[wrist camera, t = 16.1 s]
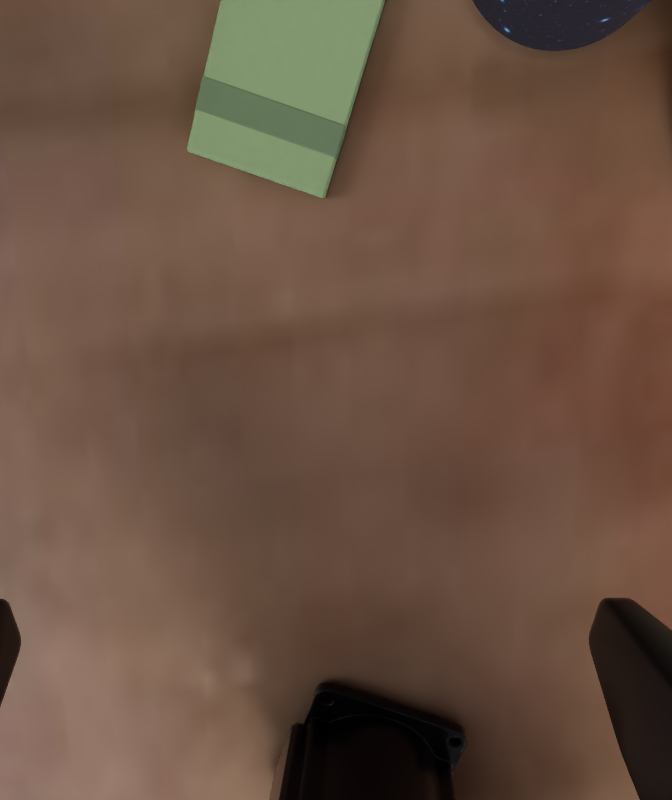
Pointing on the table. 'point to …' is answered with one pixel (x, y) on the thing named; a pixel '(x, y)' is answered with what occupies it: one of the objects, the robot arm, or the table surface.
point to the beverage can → (558, 20)
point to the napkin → (283, 87)
